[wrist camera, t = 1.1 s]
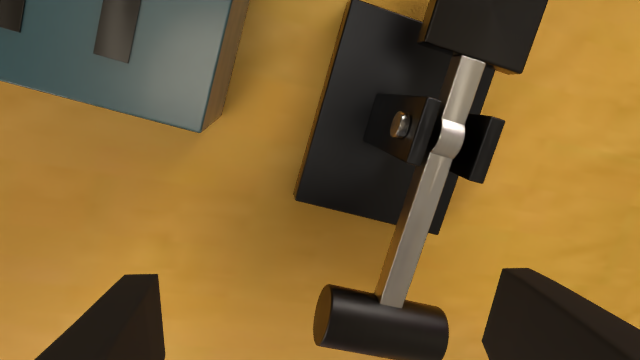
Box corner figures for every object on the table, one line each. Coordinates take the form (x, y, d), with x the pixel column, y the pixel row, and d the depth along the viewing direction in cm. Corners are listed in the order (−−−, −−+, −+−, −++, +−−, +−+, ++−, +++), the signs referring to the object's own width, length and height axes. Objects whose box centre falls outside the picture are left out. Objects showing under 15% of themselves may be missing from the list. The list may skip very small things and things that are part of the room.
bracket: (429, 228, 24) (505, 291, 17) (292, 194, 23) (309, 247, 15) (490, 51, 23) (604, 34, 15) (347, 2, 21) (395, -44, 14)
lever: (415, 344, 20) (436, 379, 17) (310, 324, 19) (317, 358, 16) (540, -9, 17) (585, -24, 15) (425, -53, 16) (453, -76, 14)
